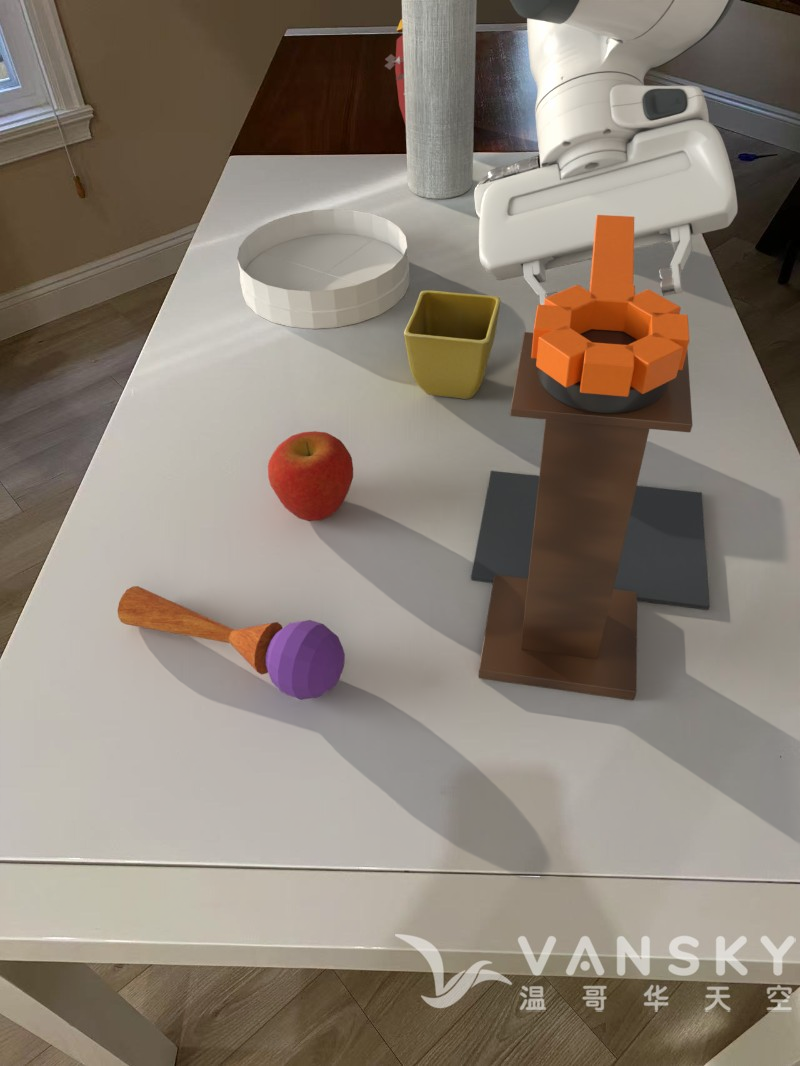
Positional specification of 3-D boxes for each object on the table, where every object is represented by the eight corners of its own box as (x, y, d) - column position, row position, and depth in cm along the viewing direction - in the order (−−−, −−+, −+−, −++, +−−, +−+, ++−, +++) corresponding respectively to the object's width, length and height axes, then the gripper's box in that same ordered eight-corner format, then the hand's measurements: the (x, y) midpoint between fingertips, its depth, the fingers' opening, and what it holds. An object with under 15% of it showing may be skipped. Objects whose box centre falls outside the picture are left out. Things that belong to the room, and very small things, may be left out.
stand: (634, 600, 70) (709, 313, 50) (634, 701, 63) (719, 414, 43) (493, 583, 72) (511, 299, 52) (478, 678, 65) (492, 394, 45)
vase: (485, 183, 128) (492, -22, 109) (442, 206, 123) (442, -4, 104) (437, 167, 133) (436, -32, 114) (394, 188, 128) (385, -16, 109)
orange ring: (674, 241, 56) (680, 212, 55) (683, 402, 44) (691, 370, 43) (550, 234, 58) (553, 206, 56) (526, 388, 46) (528, 357, 44)
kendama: (147, 557, 70) (355, 616, 63) (160, 611, 74) (359, 673, 66) (98, 598, 66) (316, 666, 59) (115, 653, 69) (323, 724, 62)
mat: (700, 495, 78) (701, 492, 78) (708, 610, 69) (710, 606, 69) (490, 474, 82) (491, 470, 81) (470, 580, 72) (471, 576, 72)
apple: (259, 510, 80) (245, 448, 74) (316, 467, 84) (307, 405, 78) (316, 546, 76) (305, 484, 70) (373, 500, 80) (367, 437, 74)
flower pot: (485, 414, 88) (488, 341, 82) (405, 404, 90) (402, 333, 84) (497, 366, 94) (501, 296, 88) (422, 359, 96) (421, 289, 89)
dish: (442, 267, 110) (442, 231, 107) (343, 347, 98) (339, 310, 95) (312, 229, 120) (308, 195, 116) (207, 298, 107) (198, 263, 104)
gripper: (460, 159, 68) (475, 321, 67) (723, 79, 60) (745, 262, 59) (483, 191, 74) (497, 341, 73) (726, 122, 66) (746, 289, 65)
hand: (610, 305), depth 66 cm, fingers open, 8 cm apart
